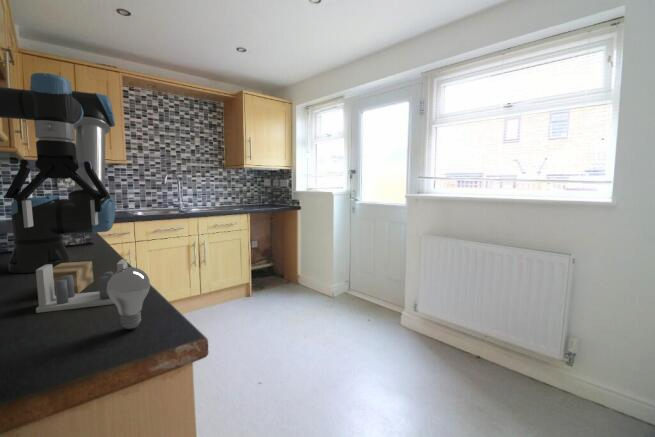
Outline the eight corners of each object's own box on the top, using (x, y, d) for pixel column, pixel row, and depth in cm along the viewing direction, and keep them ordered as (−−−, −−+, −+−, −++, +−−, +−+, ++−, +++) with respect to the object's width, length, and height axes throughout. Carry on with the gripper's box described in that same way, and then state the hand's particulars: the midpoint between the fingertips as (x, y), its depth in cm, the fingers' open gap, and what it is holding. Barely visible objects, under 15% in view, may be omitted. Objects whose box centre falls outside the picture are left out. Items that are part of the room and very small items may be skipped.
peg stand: (51, 300, 75) (48, 263, 74) (130, 292, 81) (128, 257, 80) (36, 312, 68) (32, 271, 67) (123, 302, 74) (121, 265, 73)
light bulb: (160, 324, 63) (157, 265, 62) (128, 340, 56) (124, 274, 55) (134, 319, 65) (131, 261, 64) (100, 333, 59) (96, 270, 57)
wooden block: (63, 284, 88) (61, 262, 87) (93, 281, 90) (92, 261, 89) (43, 297, 77) (41, 273, 77) (78, 294, 80) (76, 271, 79)
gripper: (-21, 135, 70) (-11, 230, 73) (112, 142, 80) (117, 225, 82) (-2, 139, 77) (7, 225, 80) (118, 145, 87) (123, 222, 89)
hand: (63, 225), depth 81 cm, fingers open, 13 cm apart
